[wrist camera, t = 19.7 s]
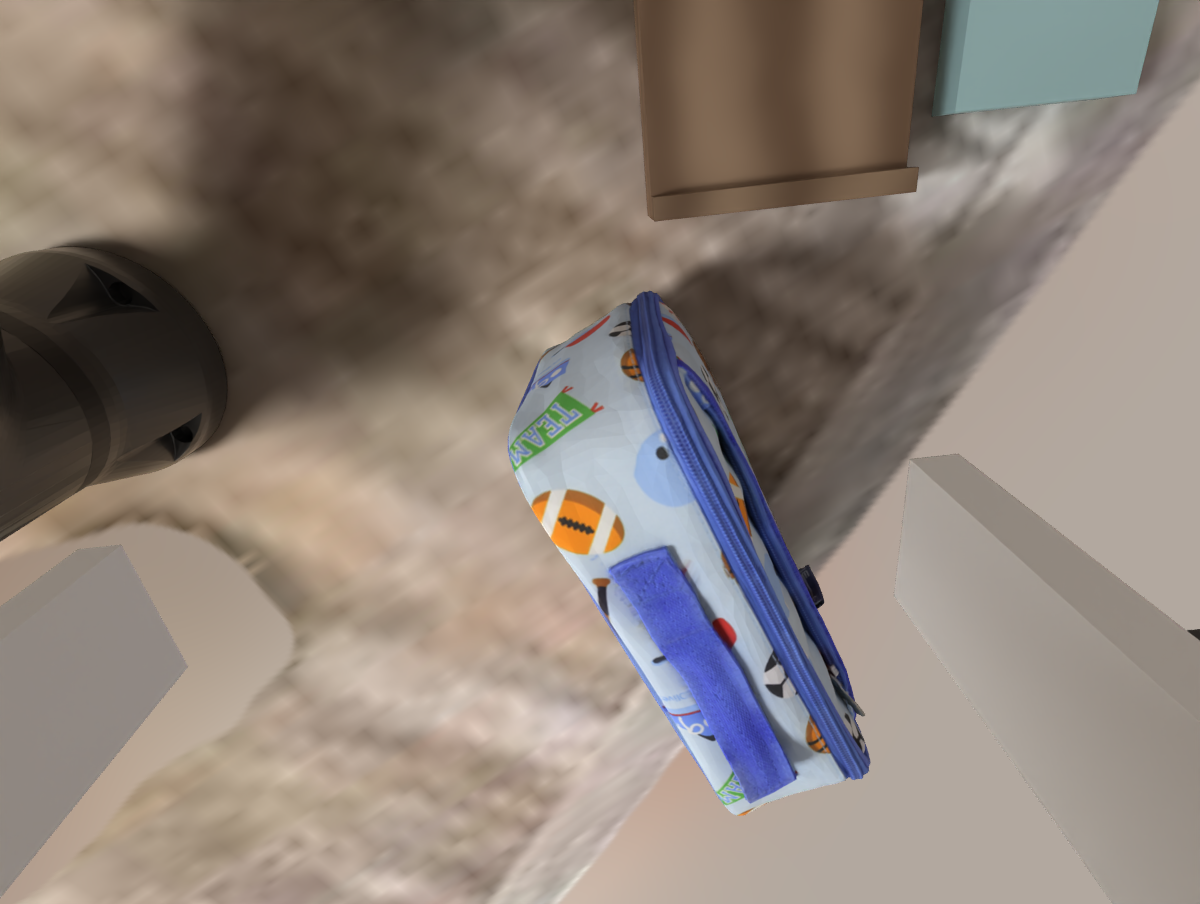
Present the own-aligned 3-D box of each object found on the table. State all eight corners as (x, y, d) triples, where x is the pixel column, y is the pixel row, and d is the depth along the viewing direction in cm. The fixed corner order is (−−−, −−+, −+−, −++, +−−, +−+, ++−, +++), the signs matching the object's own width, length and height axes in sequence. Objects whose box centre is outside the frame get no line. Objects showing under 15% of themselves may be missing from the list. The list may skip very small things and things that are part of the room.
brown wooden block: (647, 215, 37) (654, 221, 33) (630, -48, 32) (635, -84, 27) (876, 189, 37) (916, 191, 32) (899, -83, 31) (950, -127, 27)
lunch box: (809, 569, 49) (956, 846, 29) (693, 618, 51) (755, 908, 31) (657, 261, 38) (721, 359, 18) (520, 339, 40) (444, 501, 21)
